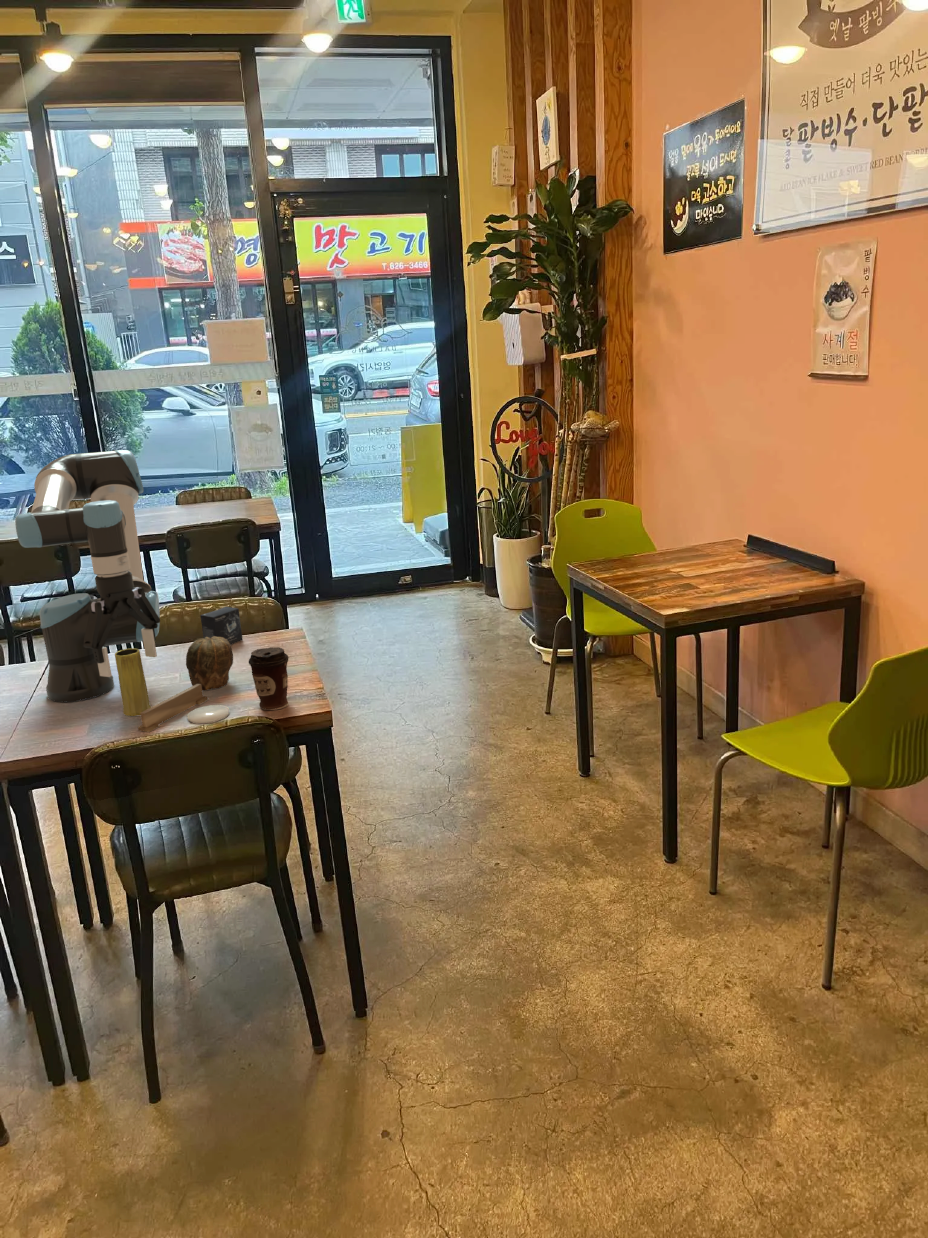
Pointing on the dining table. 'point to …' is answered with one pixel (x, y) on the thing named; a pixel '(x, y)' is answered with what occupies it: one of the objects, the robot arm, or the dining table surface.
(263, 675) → the coffee cup
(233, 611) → the box
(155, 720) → the divider
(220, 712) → the coaster
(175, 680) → the dining table surface
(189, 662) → the shell
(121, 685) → the vase
